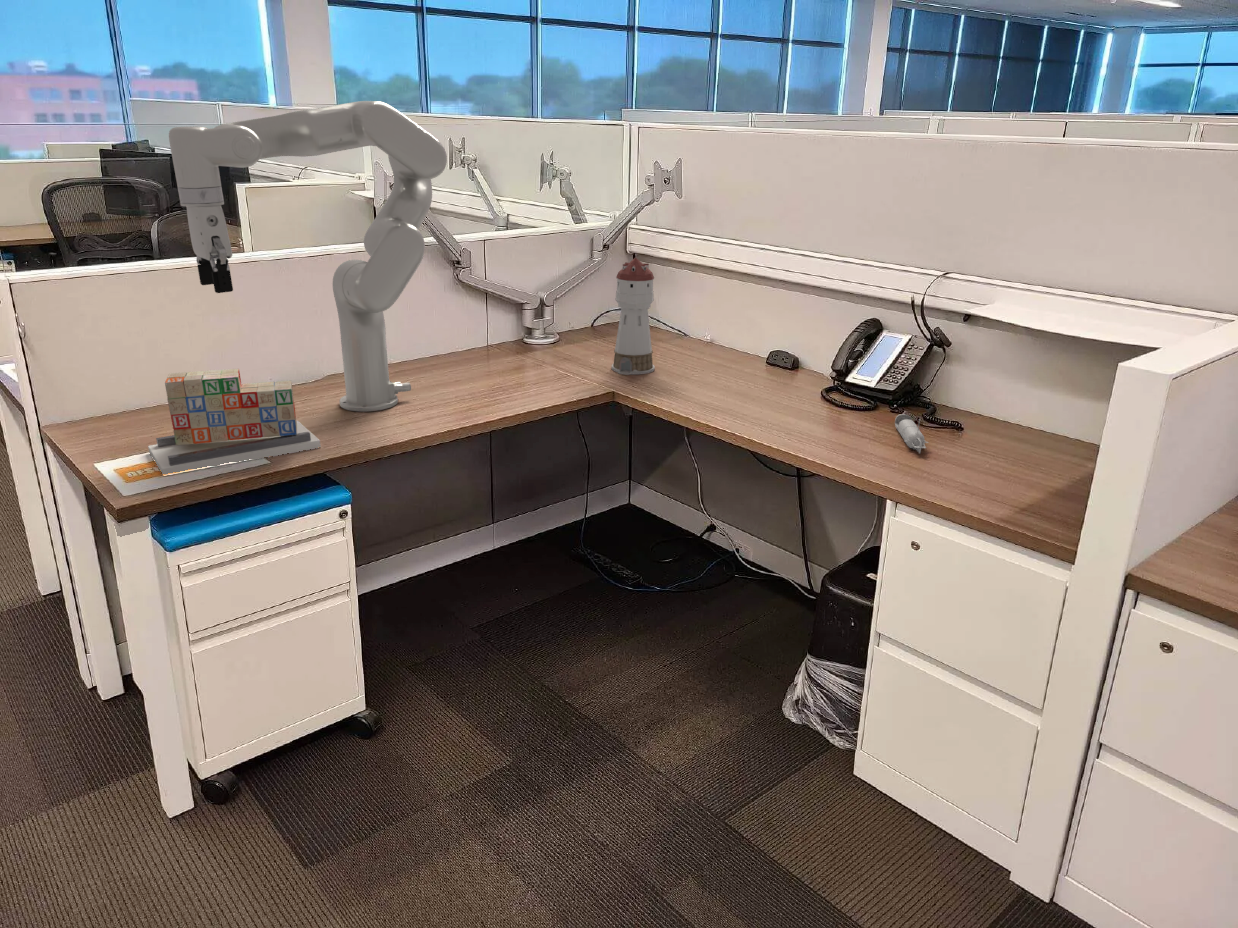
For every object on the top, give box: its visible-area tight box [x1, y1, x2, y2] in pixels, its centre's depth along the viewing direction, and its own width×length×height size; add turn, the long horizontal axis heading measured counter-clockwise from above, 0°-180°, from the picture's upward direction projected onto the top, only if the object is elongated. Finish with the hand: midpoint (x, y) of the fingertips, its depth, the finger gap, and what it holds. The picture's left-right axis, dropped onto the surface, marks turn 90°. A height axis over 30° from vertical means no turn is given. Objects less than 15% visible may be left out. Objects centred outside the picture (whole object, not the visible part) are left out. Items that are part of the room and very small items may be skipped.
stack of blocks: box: [164, 368, 298, 445], centre depth 168 cm, size 21×6×12 cm, turn 108°
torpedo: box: [894, 413, 929, 454], centre depth 184 cm, size 18×5×7 cm, turn 176°
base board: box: [147, 420, 322, 475], centre depth 171 cm, size 28×14×3 cm, turn 125°
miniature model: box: [611, 253, 656, 376], centre depth 226 cm, size 11×12×30 cm
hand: (216, 288), depth 174 cm, fingers open, 9 cm apart
